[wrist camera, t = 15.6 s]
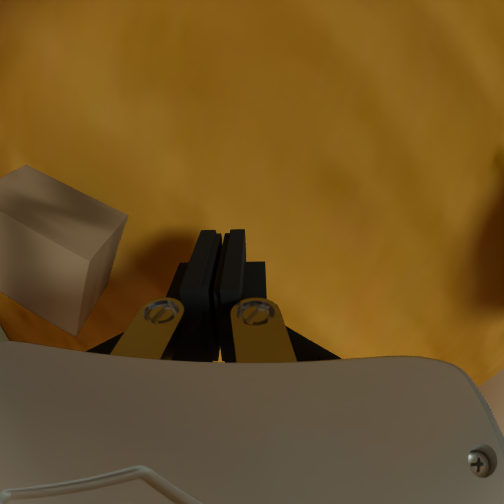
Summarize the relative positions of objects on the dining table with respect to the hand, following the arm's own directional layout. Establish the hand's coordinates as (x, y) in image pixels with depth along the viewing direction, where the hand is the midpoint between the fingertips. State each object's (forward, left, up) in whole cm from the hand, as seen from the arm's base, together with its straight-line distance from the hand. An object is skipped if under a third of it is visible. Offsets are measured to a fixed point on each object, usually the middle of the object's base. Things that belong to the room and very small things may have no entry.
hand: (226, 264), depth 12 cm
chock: (+9, -1, -3) cm, 10 cm away
